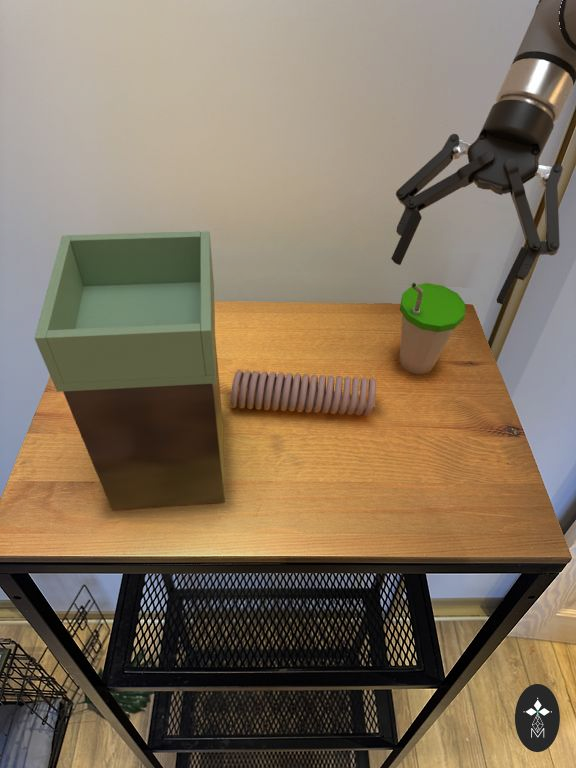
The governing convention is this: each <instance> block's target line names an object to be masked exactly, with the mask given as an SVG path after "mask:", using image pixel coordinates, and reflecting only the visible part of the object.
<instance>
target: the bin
mask: <svg viewBox="0 0 576 768" xmlns="http://www.w3.org/2000/svg"><path fill="white" fill-rule="evenodd" d="M210 234H211V233H210V231H209V230H204V231H199V230H195V231H167V232H166V231H165V232H134V233H133V232H130V233H128V232H127V233H100V234H99V233H97V234H67V235H65V234H64V235H61V237H60V240H59V241H60V242H59V245H58V249H57V253H56V256H55V261H54V263H53V268H52V272H51V274H50V279H49V282H48V286H47V289H46V294H45V297H44V301H43V305H42V308H41V312H40V315H39V319H38V323H37V327H36V331H35V335H34V341H35V343H36V346H37V348H38V351H39V352H40V356H41V357H42V360H43V362H44V364H45V366H46V369H47V372H48V374H49V376H50V379H51V381H52V383H53V385H54V388H55V391H56V392H57V393H58V392H59V393H60V392H62V393H63V391H82V390H100V389H119V388H138V387H156V386H175V385H194V384H212V383H216V351H217V350H216V351H215V339H216V313H215V282H214V279H215V278H214V269H213V267H214V266H213V258H212V246H211V235H210Z"/></svg>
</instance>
